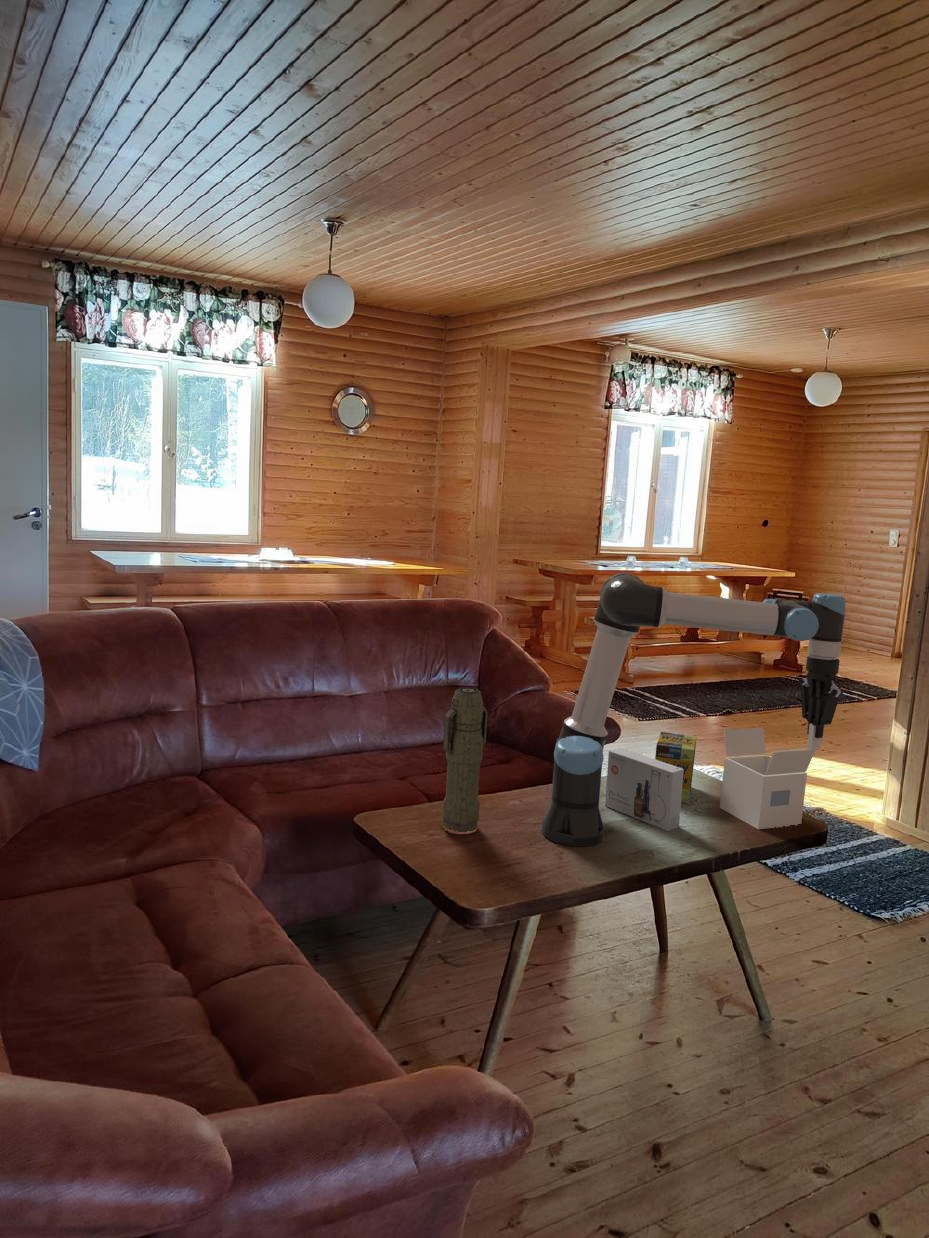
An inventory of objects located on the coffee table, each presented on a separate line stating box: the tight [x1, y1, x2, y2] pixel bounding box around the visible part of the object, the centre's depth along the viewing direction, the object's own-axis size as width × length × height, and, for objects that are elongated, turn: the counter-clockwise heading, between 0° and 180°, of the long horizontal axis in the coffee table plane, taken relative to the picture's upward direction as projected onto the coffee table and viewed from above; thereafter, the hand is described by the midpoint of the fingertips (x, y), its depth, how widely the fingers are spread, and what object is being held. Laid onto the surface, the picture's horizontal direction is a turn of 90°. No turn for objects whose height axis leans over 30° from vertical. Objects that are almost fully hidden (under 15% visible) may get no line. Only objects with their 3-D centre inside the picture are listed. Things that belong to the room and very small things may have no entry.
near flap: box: [765, 748, 816, 775], centre depth 230 cm, size 13×7×1 cm
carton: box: [719, 754, 808, 830], centre depth 240 cm, size 14×16×14 cm
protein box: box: [654, 731, 698, 804], centre depth 256 cm, size 10×15×16 cm
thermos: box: [442, 687, 489, 832], centre depth 218 cm, size 9×12×35 cm
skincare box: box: [604, 747, 684, 832], centre depth 235 cm, size 21×6×16 cm, turn 42°
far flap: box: [722, 727, 767, 757], centre depth 247 cm, size 13×7×1 cm
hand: (813, 749), depth 223 cm, fingers closed
